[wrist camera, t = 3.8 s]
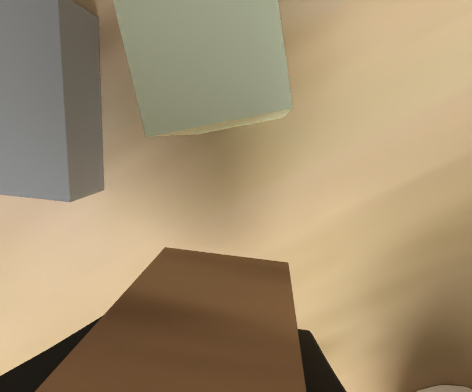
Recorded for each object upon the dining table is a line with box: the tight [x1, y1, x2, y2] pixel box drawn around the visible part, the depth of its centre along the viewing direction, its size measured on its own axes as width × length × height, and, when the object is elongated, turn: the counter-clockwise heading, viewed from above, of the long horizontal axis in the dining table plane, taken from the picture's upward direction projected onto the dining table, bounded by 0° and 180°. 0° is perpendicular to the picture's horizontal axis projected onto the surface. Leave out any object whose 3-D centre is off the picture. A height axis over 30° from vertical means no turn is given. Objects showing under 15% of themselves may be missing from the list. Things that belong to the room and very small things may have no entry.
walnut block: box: [35, 247, 306, 392], centre depth 7 cm, size 4×4×6 cm
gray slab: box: [0, 0, 104, 202], centre depth 13 cm, size 8×8×3 cm
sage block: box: [113, 0, 293, 137], centre depth 10 cm, size 4×4×6 cm
